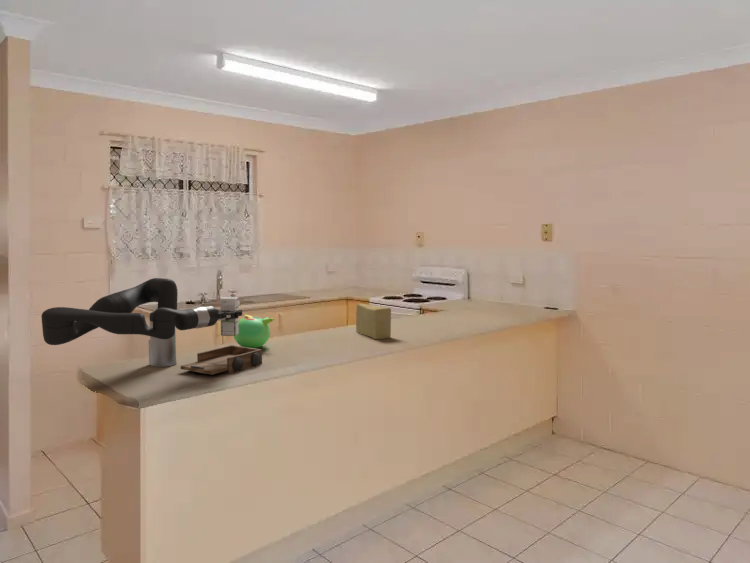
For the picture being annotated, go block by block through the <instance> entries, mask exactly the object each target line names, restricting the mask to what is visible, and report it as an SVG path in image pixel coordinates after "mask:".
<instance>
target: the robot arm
mask: <svg viewBox="0 0 750 563" xmlns="http://www.w3.org/2000/svg"><path fill="white" fill-rule="evenodd" d="M150 303H157V308H156V309H155V310H154V311H152V312H150V314H149V325H148V324H147V321H146V317H145V314H144V313H142V312H133V311H134V310H135V309H136V308H138V307H139V306H142V305H145V304H150ZM225 312H227V313H225ZM242 316H243V310H242V309H238V310H236V311H229V310H221V308H215V306H212V305H204V306H202V305H201V306H198V307H197V306H196V307H192V308H188V309H187V308H186V309H178V286H177V284H176V282H175V280H173V279H171V278H164V277H163V278H161V277H153V278H149V279H148V280H145V281H144V282H142V283H140V284H138V285H136V286H134V287H131V288H128V289H127V288H126V289H124V290H121V291H117V292H114V293H111V294H108V295H105V296H102V297H100V298H98V300H96V301H95V302H94V303H93V304H92V305H91V306H90V308H88V309H85V308H83V309H82V308H75V307H64V306H57V307H56V306H55V307H51V308H48V309H45V310H44V311H43V312H42V313H41V328H42V337H43V340H44V342H45V344H47V345H50V346H59V345H63V344H67V343H70V342H72V341H74V340H76V339H78V338H80V337H82V336H84V335H87V334H88V333H90V332H92V331H94V330H96V329H98V328H100V329H102V330H103V331H106V332H108V333H111V334H114V335H140V336H146V337H147V336H148V337H149V340H148V364H149V365H150V366H151V367H155V368H165V367H171V366H175V365H177V340H176V339H177V337H176V336H177V335H176V332H177V330H179V331H186V330H193V329H202V328H207V327H213V326H214V325H216V324H217V322H218V321H221V320H225V319H226V320H230V319H236V318H238V319H239V317H242Z"/></svg>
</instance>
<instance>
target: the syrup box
mask: <svg viewBox="0 0 750 563" xmlns="http://www.w3.org/2000/svg"><path fill="white" fill-rule="evenodd" d="M220 309H221V310H229V311H236V310H239V296H221V297H220ZM225 313H227V312H225ZM238 321H239V317H238V318H236V319H230V320H226V319H225V320H220V336H221V337H223V336H224V337H229V336H230V337H234V336H236V335H237V334H238V333H239V327H238Z"/></svg>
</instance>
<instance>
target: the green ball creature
mask: <svg viewBox="0 0 750 563" xmlns="http://www.w3.org/2000/svg"><path fill="white" fill-rule="evenodd" d="M244 316H245V317H241V319H238V327H239V333H238V334H237V335H236V336H233V338H234V340H235V342H236V343H237V344H238V346H241V347H248V348H255V349H259V348H260V347H263V346H264V345H265V344H267V342H268V341H269V338H270V337H271V336H270V335H271V328H270V323H272V322H273V321H274V320H275V319H274V318H272V317H271V318H270V317H269V316H267V317H264V318H262V317H259V316H255V315H249V314H244Z"/></svg>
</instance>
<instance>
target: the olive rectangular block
mask: <svg viewBox="0 0 750 563" xmlns="http://www.w3.org/2000/svg"><path fill="white" fill-rule="evenodd" d="M355 313H356V314H355V315H356V316H355V318H356V321H355V324H356V325H355V332H356V333H357V332H358V334H361V335H363V336H366V337H369V338H372V339H373V340H382V339H384V340H385V339H389V338H391V335H392V334H391V331H392V330H391V329H392V324H391V322H392V319H391V318H392V309H391V308H390V307H385V306H379V305H371V304H365V303H361V302H360V303H357V304H356V312H355Z"/></svg>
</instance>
